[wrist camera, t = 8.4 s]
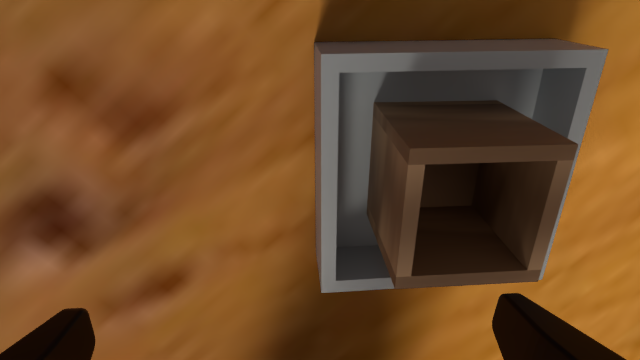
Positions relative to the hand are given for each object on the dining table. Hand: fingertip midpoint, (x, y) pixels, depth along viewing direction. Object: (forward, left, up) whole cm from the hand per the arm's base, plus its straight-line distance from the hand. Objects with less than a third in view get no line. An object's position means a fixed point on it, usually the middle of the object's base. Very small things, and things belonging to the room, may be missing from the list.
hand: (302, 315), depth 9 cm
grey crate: (-2, -7, -13) cm, 14 cm away
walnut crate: (-2, -7, -12) cm, 14 cm away
